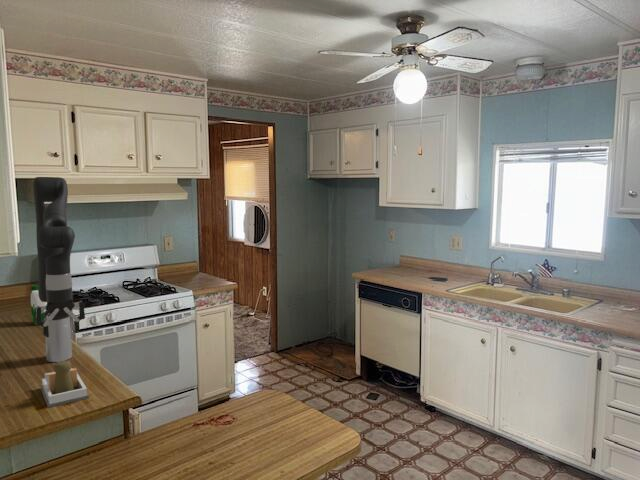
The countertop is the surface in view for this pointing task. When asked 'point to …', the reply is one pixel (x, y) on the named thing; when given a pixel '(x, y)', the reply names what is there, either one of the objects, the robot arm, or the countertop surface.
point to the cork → (62, 377)
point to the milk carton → (36, 303)
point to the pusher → (52, 376)
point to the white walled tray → (64, 397)
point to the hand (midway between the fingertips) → (61, 334)
